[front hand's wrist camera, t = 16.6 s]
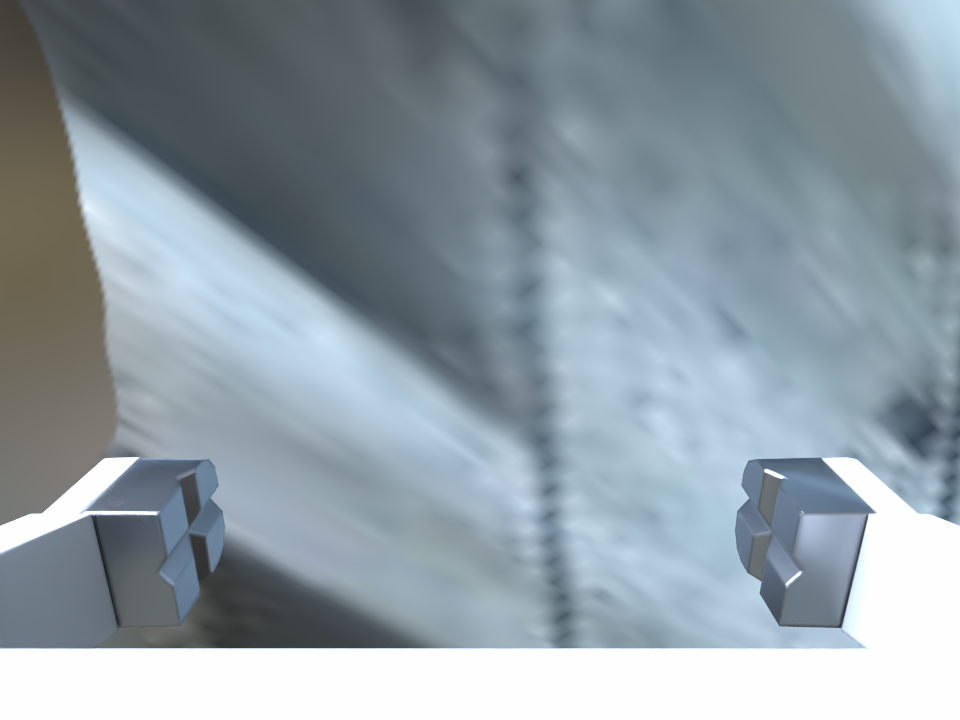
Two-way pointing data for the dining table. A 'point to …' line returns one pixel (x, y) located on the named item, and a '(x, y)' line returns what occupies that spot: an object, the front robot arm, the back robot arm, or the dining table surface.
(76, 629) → the front robot arm
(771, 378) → the dining table surface
